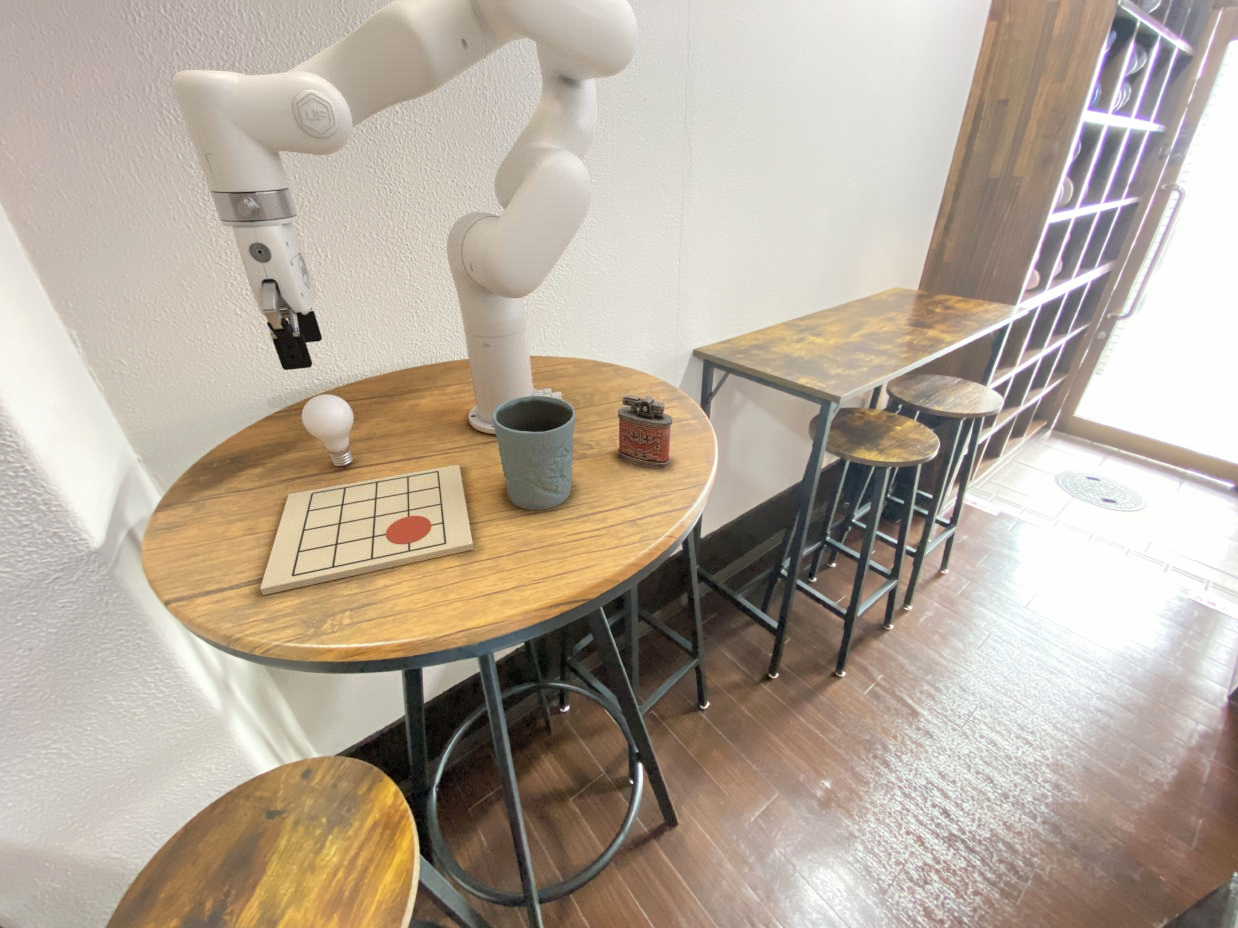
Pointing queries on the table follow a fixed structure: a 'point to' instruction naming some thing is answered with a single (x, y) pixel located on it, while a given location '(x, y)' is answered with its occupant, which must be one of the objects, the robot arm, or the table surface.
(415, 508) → the board
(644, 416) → the lighter
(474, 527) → the table surface
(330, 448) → the lightbulb
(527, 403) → the grey green cup
